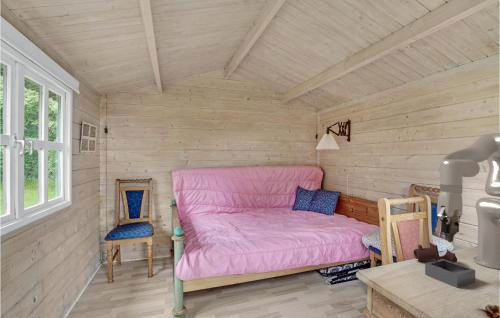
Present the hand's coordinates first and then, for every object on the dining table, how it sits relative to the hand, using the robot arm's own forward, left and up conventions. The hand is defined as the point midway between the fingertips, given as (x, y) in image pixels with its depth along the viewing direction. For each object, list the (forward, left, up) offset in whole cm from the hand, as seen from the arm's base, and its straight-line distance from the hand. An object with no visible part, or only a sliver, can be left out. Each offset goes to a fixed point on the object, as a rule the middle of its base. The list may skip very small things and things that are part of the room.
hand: (449, 231), depth 110 cm
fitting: (0, 0, -20) cm, 20 cm away
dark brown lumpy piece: (-12, -12, -20) cm, 26 cm away
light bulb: (0, 0, -5) cm, 5 cm away
